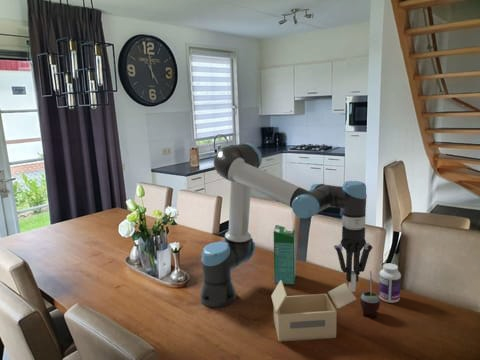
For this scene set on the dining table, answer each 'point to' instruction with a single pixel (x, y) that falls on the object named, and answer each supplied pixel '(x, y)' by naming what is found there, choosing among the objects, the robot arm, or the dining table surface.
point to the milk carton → (284, 255)
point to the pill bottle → (389, 283)
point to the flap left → (278, 296)
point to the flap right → (341, 296)
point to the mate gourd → (370, 302)
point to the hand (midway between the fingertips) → (352, 289)
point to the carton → (305, 318)
